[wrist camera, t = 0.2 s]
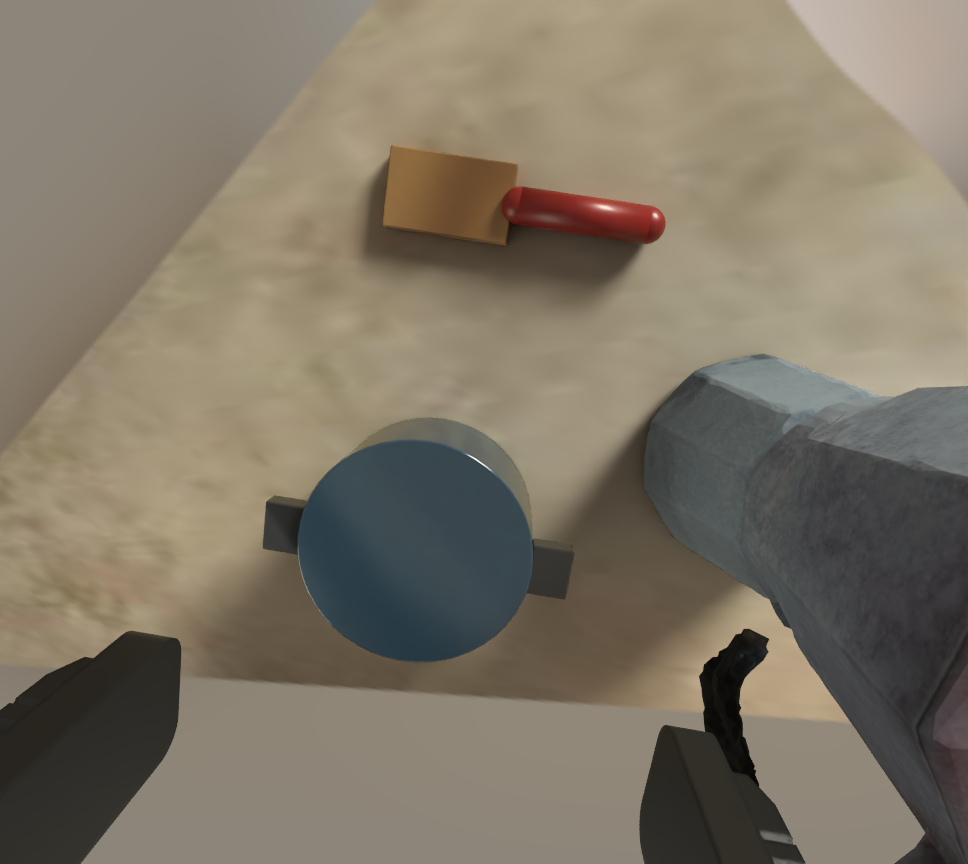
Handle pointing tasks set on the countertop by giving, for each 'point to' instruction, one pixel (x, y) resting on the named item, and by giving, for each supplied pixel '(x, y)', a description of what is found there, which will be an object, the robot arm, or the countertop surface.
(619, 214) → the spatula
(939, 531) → the moka pot
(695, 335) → the countertop surface
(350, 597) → the pot
